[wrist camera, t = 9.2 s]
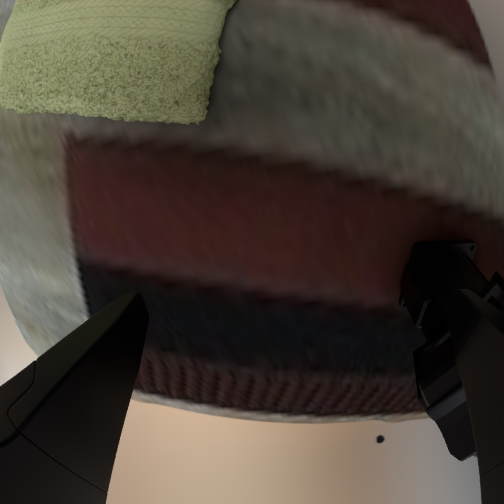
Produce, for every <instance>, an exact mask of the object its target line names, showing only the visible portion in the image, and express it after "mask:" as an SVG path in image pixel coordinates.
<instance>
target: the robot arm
mask: <svg viewBox="0 0 504 504" xmlns="http://www.w3.org/2000/svg"><path fill="white" fill-rule="evenodd" d="M471 246H472V247H471ZM419 248H421V249H420V250H419V251H418V249H419ZM476 248H477V245H476V243H475V242H474V241H448V242H423V243H417V244H415V245H414V246H413V249H412V254H411V258H410V263H409V267H408V269H407V270H406V274H405V278H404V282H403V285H402V289H401V298H400V301H399V305H400V307H401V308H402V309H408V311H409V313H410V315H411V317H412V319H413V322H414V324H415V326H416V327H417V328H421V329H422V331H423V333H424V335H425V338H426V340H427V342H426V343H425V344H424V345H423V346H421V347H420V348H419V347H418V348H417V349H416V350H415V351H414V352H413V356H414V364H415V373H416V383H417V393H418V400H419V402H420V403H421V405H422V408H423V409H424V410H425V411H426V413H427V414H428V415H429V417H430V418H431V419H433V420H434V421H435V422H436V424H437V425H438V427H439V429H440V430H441V433H442V435H443V437H444V439H445V442H446V444H447V447H448V450H449V452H450V454H451V455H453V456H454V457H456V458H457V459H458V460H460V461H464V460H466V459H467V458H469V457H471V456H476V457H477V458H478V466H479V475H480V487H481V501H482V504H504V279H503V278H502V277H501V276H500V274H499V273H498V272H497V271H496V272H495V274H494V275H493V276H492V277H493V278H492V279H491V280H490V281H488V280H487V279H486V277H485V276H484V275H483V274H482V272H481V271H480V270H479V268H478V267H477V266H476V265H475V263H474V262H473V261H472V260H473V257H474V254H475V251H476ZM404 303H405V304H404ZM148 322H149V315H148V311H147V308H146V305H145V302H144V299H143V296H142V294H141V293H139V292H125V293H124V294H123V295H121V296H120V297H118V298H117V299H116V300H114V301H113V302H112V303H110V304H109V305H107V306H106V307H105V308H103V309H102V310H101V311H99V312H98V313H96V314H95V315H94V316H92V317H91V318H90V319H88V320H87V321H86V322H84V323H83V324H82V325H80V326H79V327H78V328H76V329H75V330H74V331H72V332H71V333H70V334H68V335H67V336H66V337H64V338H63V339H62V340H60V341H59V342H58V343H57V344H55V345H54V346H53V347H51V348H50V349H49V350H47V351H46V352H45V353H44V354H42V355H41V356H40V357H38V358H37V361H33V362H32V363H31V364H30V365H28V366H27V367H26V368H24V369H23V370H22V371H21V372H19V373H18V374H17V375H15V376H14V377H13V378H11V379H10V380H8V381H7V382H6V383H4V384H3V385H1V386H0V504H106V499H107V492H108V488H109V483H110V479H111V474H112V470H113V465H114V461H115V457H116V452H117V448H118V444H119V440H120V436H121V432H122V428H123V425H124V421H125V417H126V413H127V410H128V406H129V402H130V399H131V396H132V392H133V389H134V385H135V382H136V378H137V375H138V371H139V368H140V363H141V358H142V353H143V347H144V342H145V337H146V332H147V327H148Z"/></svg>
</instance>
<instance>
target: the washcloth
mask: <svg viewBox="0 0 504 504" xmlns="http://www.w3.org/2000/svg"><path fill="white" fill-rule="evenodd" d="M235 2H236V0H16V2H15V5H14V8H13V12H12V14H11V16H10V18H9V20H8V23H7V25H6V27H5V30H4V33H3V36H2V40H1V43H0V108H5V109H7V110H8V109H11V110H16V113H18V114H22V113H27V114H29V115H30V114H32V113H33V112H34V113H35V112H41V113H42V114H44V113H51V112H53V113H56V114H57V113H59V114H61V113H62V114H63V113H68V114H75V113H77V114H78V115H80V116H85V117H89V116H92V117H99V116H102V117H105V116H106V117H107V118H109V119H110V118H111V119H113V120H122V119H124V121H125V122H126V121H129V122H132V121H136V120H140V121H142V122H143V121H148V122H153V123H155V122H157V121H158V122H166V123H167V124H170V122H174V123H179V124H188V125H189V124H190V123H196V124H197V125H199V122H201V121H203V120H204V119H205V118H206V117H205V116H206V115H207V112H208V110H206V107H207V106H208V104H209V101H208V99H209V95H210V91H209V88H210V86H211V85H212V84H213V78H214V74H213V72H214V69H215V66H216V65H217V63H218V61H219V59H220V57H219V54H220V53H222V51H221V50H220V48H219V46H218V41H219V38H220V36H221V33H222V29H223V26H224V22H225V17H226V14H227V11H228V9H230V8H231V7H232V6H233V4H234V3H235Z"/></svg>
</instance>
